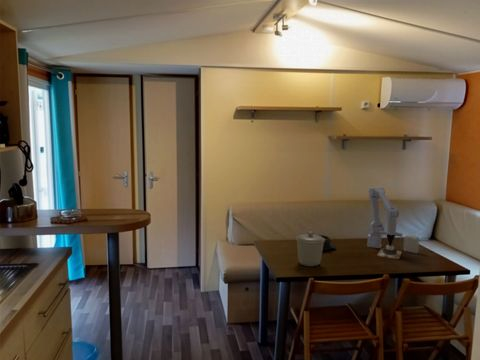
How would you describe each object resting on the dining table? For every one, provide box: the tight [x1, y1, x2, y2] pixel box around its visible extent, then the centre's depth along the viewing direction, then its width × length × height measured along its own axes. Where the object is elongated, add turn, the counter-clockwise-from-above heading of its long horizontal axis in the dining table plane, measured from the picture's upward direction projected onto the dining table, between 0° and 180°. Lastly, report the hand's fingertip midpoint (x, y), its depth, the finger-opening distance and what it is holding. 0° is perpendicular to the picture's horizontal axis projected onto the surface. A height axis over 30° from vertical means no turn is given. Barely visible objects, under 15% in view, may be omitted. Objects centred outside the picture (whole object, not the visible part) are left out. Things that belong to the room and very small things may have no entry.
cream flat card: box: [376, 246, 403, 260], centre depth 287 cm, size 14×18×4 cm
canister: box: [295, 230, 325, 267], centre depth 261 cm, size 18×18×21 cm
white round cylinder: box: [385, 244, 395, 250], centre depth 287 cm, size 5×5×5 cm
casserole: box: [318, 234, 337, 252], centre depth 297 cm, size 25×19×8 cm
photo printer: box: [403, 233, 420, 254], centre depth 295 cm, size 10×4×12 cm, turn 39°
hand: (390, 245), depth 287 cm, fingers closed, pressing on white round cylinder
